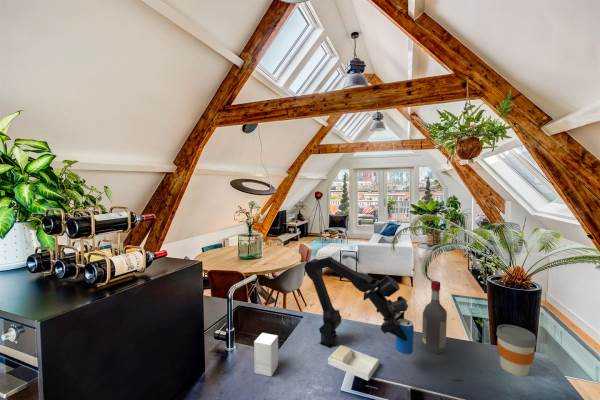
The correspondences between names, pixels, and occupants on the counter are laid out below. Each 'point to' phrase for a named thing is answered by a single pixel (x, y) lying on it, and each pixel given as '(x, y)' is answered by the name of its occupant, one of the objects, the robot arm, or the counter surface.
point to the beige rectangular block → (343, 354)
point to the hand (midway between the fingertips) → (408, 336)
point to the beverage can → (407, 329)
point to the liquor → (434, 323)
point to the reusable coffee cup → (515, 349)
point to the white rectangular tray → (357, 364)
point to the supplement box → (266, 354)
